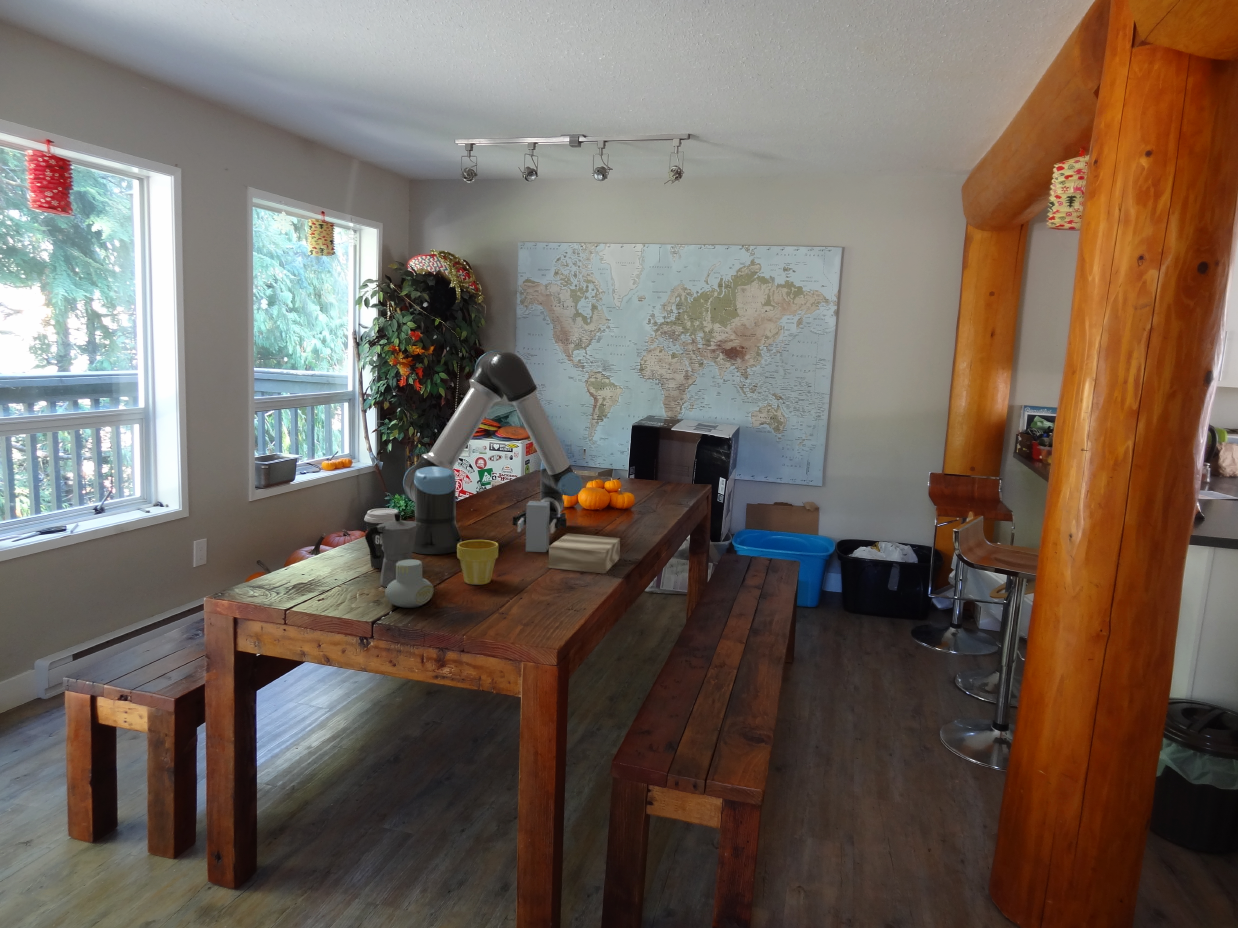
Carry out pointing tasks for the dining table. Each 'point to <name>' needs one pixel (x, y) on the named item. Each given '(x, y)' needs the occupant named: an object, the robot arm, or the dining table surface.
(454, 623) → the dining table surface
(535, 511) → the slate block
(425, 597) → the air freshener
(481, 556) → the plant pot
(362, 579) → the dining table surface
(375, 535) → the coffee cup
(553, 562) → the birch block
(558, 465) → the robot arm
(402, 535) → the coffeepot
